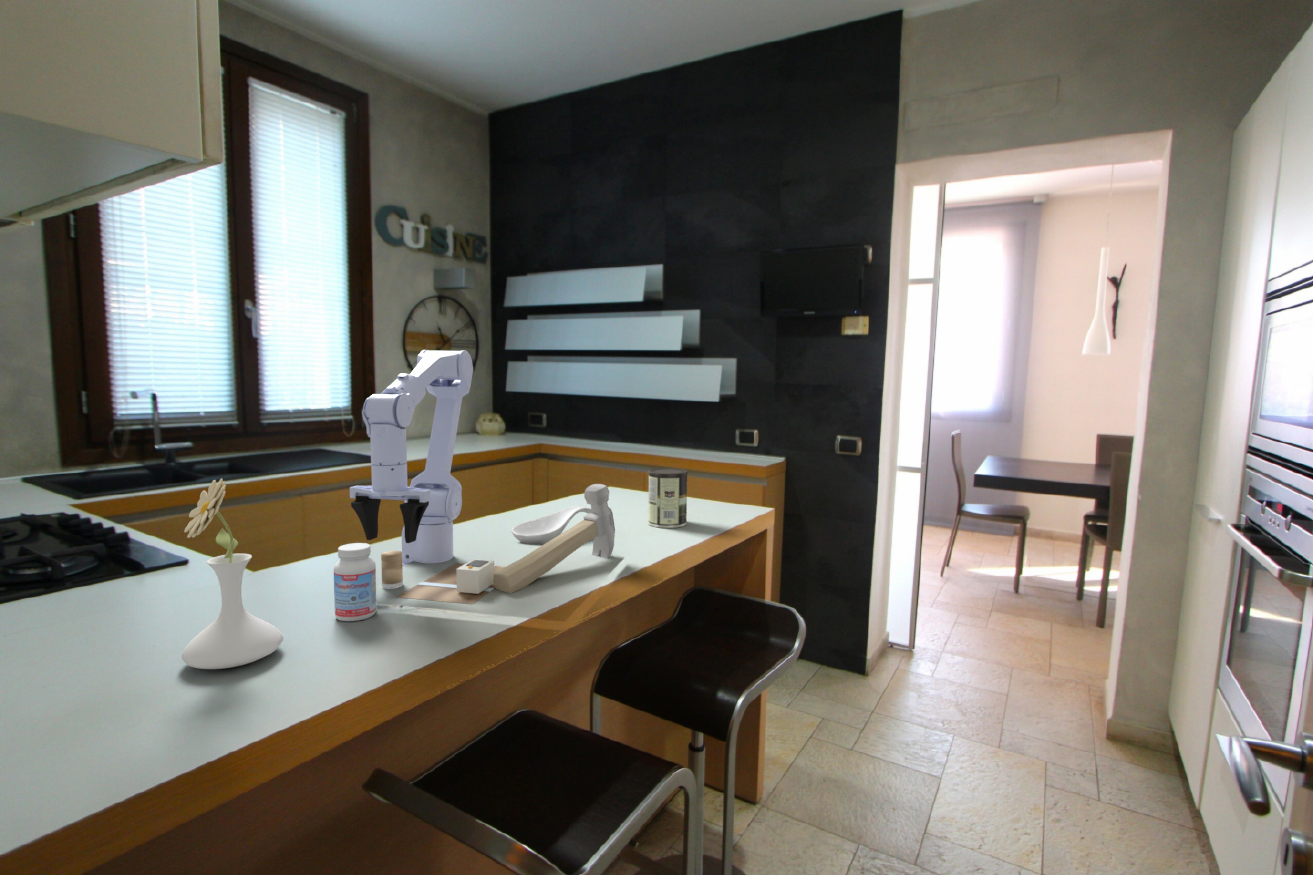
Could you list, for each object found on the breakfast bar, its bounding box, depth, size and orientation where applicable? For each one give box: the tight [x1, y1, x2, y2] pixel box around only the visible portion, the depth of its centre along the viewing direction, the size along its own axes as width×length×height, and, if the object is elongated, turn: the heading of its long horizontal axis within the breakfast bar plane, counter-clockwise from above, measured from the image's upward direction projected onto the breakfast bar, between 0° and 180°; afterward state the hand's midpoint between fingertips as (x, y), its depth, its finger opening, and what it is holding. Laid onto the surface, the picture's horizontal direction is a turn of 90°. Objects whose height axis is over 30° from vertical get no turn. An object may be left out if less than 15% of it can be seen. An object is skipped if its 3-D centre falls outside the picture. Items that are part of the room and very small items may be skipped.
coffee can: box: [647, 467, 689, 529], centre depth 167 cm, size 10×10×14 cm
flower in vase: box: [181, 478, 284, 670], centre depth 84 cm, size 13×11×25 cm
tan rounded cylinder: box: [380, 550, 404, 590], centre depth 112 cm, size 3×3×7 cm
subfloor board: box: [395, 562, 505, 605], centre depth 115 cm, size 14×20×1 cm
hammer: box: [493, 483, 616, 594], centre depth 122 cm, size 16×5×30 cm
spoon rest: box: [510, 505, 591, 546], centre depth 151 cm, size 24×12×7 cm, turn 133°
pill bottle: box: [333, 542, 377, 622], centre depth 101 cm, size 6×6×11 cm
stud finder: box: [456, 558, 495, 594], centre depth 111 cm, size 4×6×4 cm, turn 168°
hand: (391, 540), depth 112 cm, fingers open, 7 cm apart
